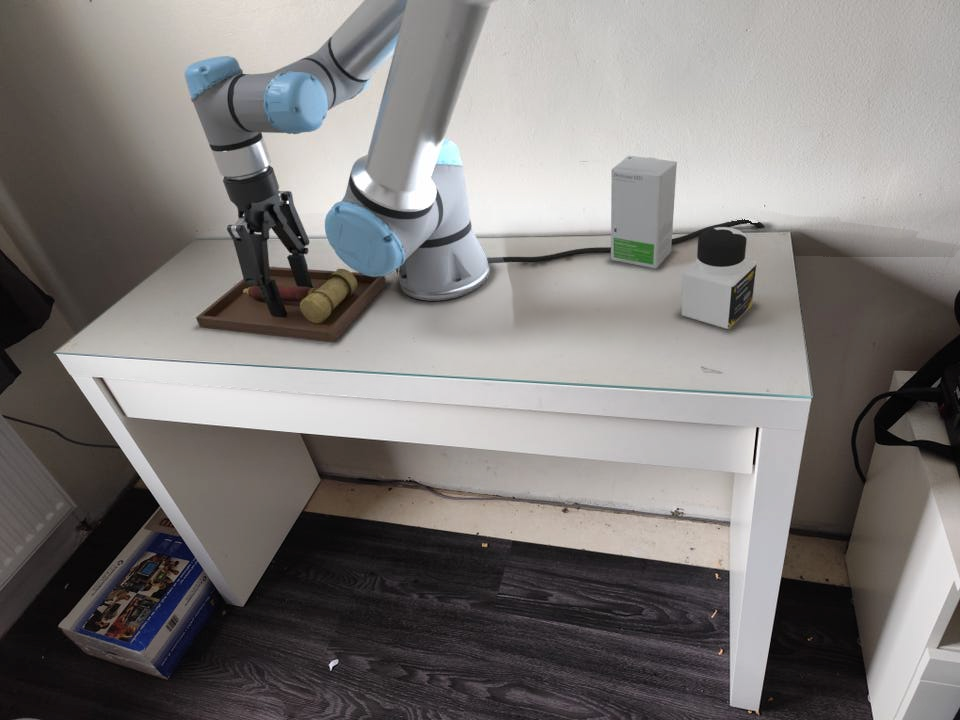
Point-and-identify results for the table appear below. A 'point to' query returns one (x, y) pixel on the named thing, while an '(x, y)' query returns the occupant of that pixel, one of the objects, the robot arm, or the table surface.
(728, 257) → the medicine bottle
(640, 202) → the cosmetic box
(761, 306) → the table surface
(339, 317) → the tray
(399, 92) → the robot arm
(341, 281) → the gavel
